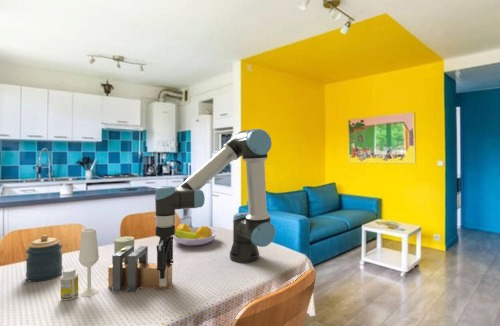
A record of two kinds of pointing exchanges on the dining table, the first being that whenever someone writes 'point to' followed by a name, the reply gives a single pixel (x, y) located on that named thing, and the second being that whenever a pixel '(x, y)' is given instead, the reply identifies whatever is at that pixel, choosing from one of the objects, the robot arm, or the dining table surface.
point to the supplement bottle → (69, 284)
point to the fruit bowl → (193, 235)
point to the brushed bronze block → (144, 276)
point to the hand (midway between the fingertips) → (165, 282)
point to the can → (123, 243)
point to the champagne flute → (88, 257)
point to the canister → (44, 259)
